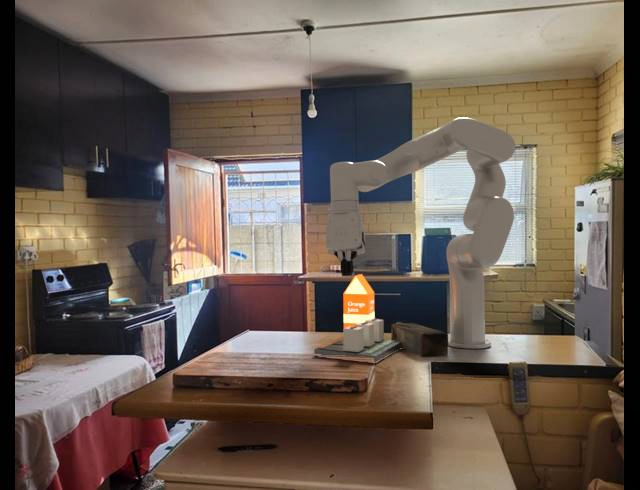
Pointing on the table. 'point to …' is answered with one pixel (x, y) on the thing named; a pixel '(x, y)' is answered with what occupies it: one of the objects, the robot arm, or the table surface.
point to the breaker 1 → (353, 338)
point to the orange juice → (358, 302)
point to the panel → (374, 351)
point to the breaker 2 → (377, 329)
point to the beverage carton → (420, 339)
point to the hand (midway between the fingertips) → (347, 275)
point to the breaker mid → (367, 332)
